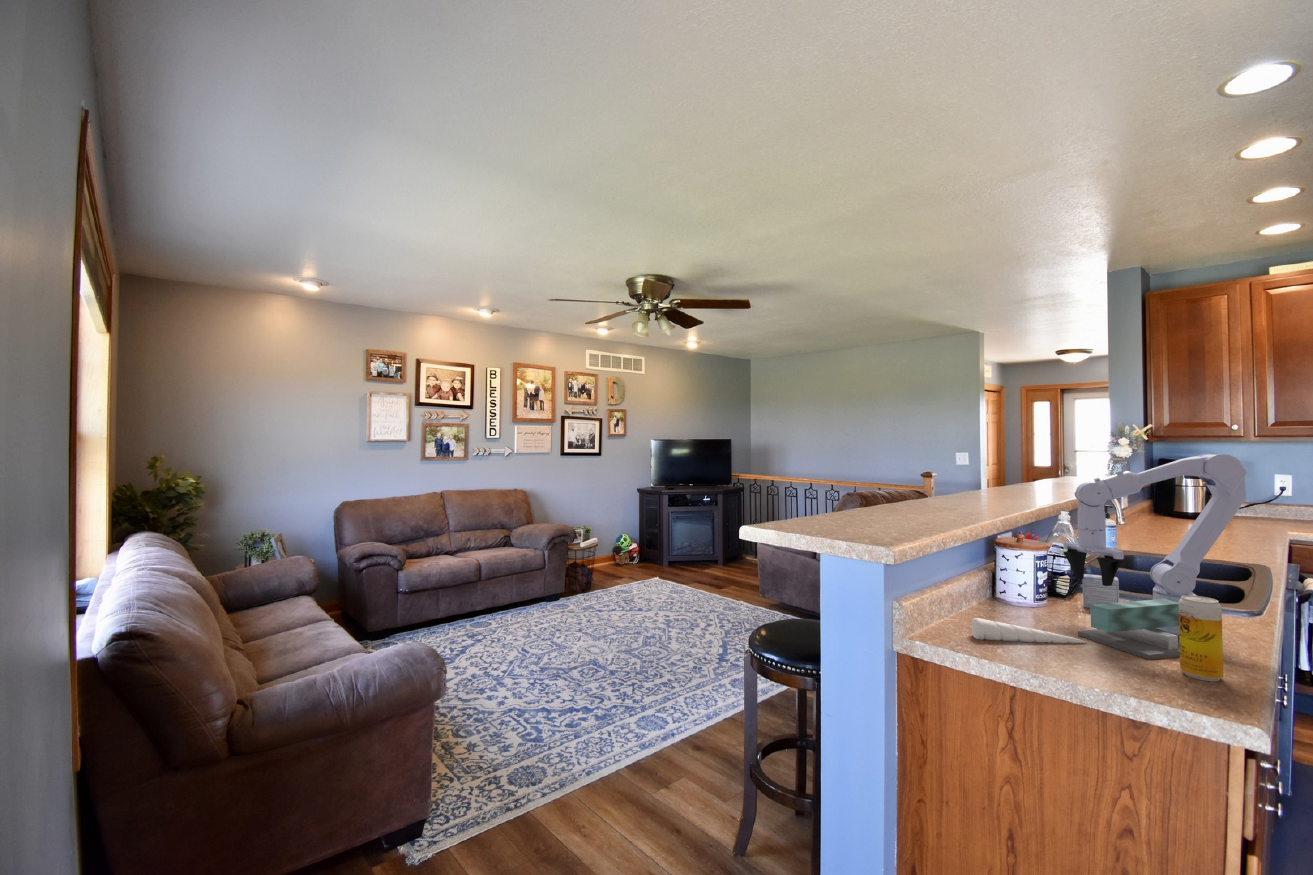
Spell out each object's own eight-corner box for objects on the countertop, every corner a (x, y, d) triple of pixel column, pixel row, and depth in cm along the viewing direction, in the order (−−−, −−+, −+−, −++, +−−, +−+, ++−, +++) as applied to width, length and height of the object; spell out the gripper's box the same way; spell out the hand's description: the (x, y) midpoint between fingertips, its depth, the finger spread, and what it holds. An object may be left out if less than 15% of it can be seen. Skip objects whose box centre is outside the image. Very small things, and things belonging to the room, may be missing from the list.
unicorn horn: (1095, 650, 125) (1094, 628, 125) (976, 642, 131) (975, 621, 131) (1085, 643, 130) (1084, 622, 130) (970, 635, 136) (970, 615, 136)
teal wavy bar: (1167, 619, 133) (1167, 598, 133) (1187, 625, 129) (1186, 603, 129) (1090, 626, 128) (1090, 604, 128) (1108, 632, 124) (1107, 609, 124)
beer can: (1171, 670, 113) (1169, 595, 113) (1199, 669, 114) (1197, 594, 114) (1203, 683, 107) (1201, 603, 107) (1232, 681, 107) (1230, 602, 108)
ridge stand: (1131, 629, 138) (1131, 613, 138) (1208, 653, 122) (1207, 634, 122) (1077, 634, 134) (1077, 618, 135) (1148, 659, 119) (1148, 640, 119)
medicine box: (1119, 608, 156) (1118, 577, 156) (1119, 612, 152) (1118, 580, 153) (1083, 603, 161) (1082, 573, 161) (1082, 607, 157) (1082, 576, 157)
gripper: (1053, 526, 152) (1054, 576, 152) (1106, 533, 138) (1107, 589, 137) (1075, 525, 153) (1076, 575, 153) (1129, 532, 139) (1131, 588, 139)
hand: (1092, 582), depth 145 cm, fingers open, 7 cm apart
